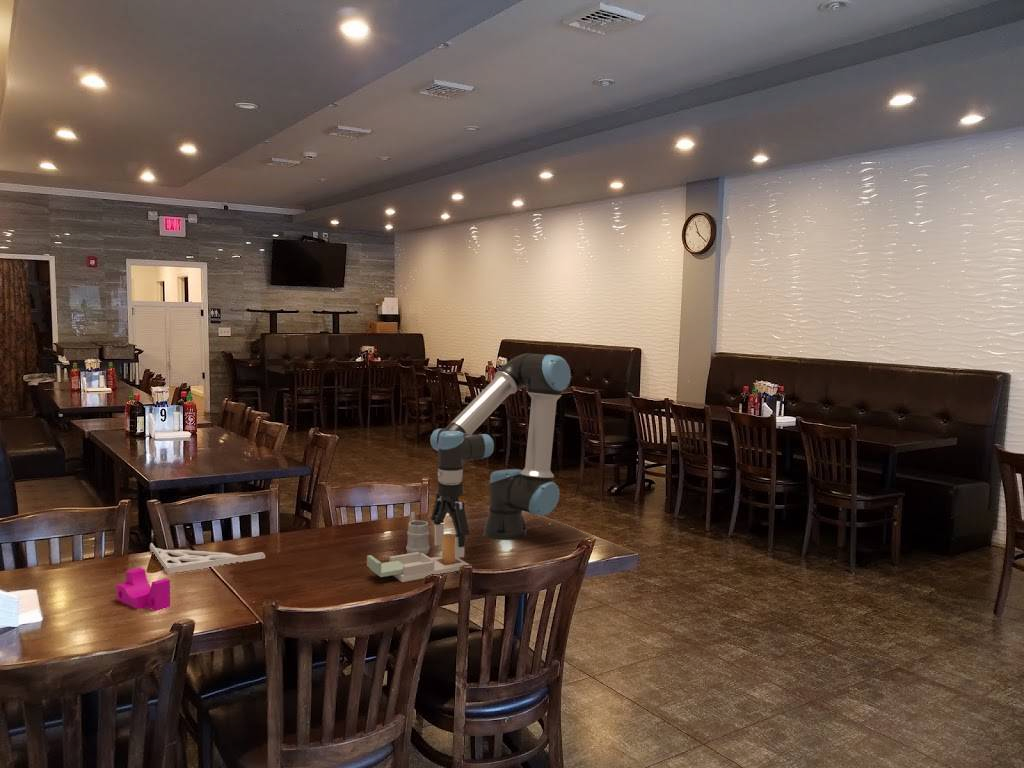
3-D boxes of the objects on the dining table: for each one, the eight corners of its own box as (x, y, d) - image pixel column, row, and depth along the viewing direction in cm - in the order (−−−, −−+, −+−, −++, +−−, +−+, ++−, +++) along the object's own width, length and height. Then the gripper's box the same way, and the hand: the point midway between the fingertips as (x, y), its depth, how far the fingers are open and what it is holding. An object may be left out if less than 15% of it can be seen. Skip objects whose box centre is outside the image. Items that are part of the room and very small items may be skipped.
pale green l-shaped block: (397, 564, 225) (397, 550, 224) (408, 572, 218) (409, 558, 218) (366, 569, 220) (367, 555, 219) (377, 577, 213) (377, 563, 213)
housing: (451, 560, 237) (452, 546, 236) (468, 570, 228) (469, 556, 227) (386, 571, 225) (387, 557, 224) (402, 583, 216) (402, 567, 215)
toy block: (116, 601, 198) (116, 573, 197) (140, 594, 203) (139, 567, 202) (146, 615, 189) (146, 586, 189) (170, 608, 194) (169, 579, 194)
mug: (410, 557, 238) (411, 520, 237) (398, 547, 249) (399, 511, 248) (433, 554, 242) (433, 518, 241) (420, 544, 252) (421, 509, 251)
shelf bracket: (149, 550, 242) (149, 542, 242) (239, 537, 258) (239, 529, 258) (167, 577, 219) (167, 567, 219) (265, 560, 235) (265, 552, 235)
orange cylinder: (451, 564, 233) (452, 533, 232) (457, 568, 229) (458, 536, 229) (439, 566, 231) (440, 534, 230) (445, 570, 227) (446, 538, 226)
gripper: (421, 475, 236) (420, 541, 238) (459, 492, 215) (457, 564, 217) (442, 473, 240) (441, 538, 242) (481, 489, 219) (480, 560, 221)
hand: (449, 550), depth 230 cm, fingers open, 13 cm apart
